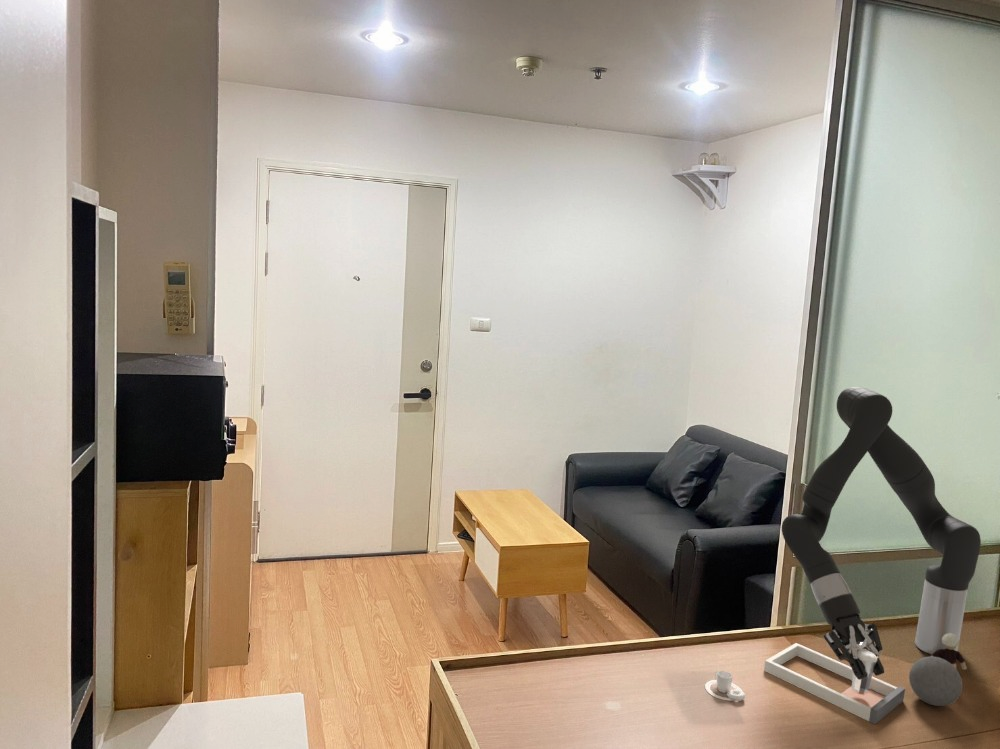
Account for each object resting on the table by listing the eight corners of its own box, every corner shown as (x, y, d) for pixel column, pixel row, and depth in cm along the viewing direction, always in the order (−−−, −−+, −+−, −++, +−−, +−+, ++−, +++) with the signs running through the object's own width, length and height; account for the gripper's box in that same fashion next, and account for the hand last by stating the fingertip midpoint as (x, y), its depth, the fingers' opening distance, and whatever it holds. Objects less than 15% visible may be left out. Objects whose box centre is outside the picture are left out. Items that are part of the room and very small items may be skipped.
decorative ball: (896, 689, 174) (902, 647, 173) (938, 689, 175) (945, 647, 174) (924, 715, 165) (931, 671, 163) (969, 716, 166) (976, 672, 164)
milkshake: (877, 699, 167) (885, 655, 165) (850, 694, 168) (858, 650, 166) (871, 687, 171) (879, 645, 169) (845, 683, 172) (853, 640, 170)
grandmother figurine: (955, 683, 179) (963, 631, 176) (964, 692, 175) (973, 639, 173) (921, 680, 179) (929, 628, 177) (929, 690, 175) (938, 637, 173)
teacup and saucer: (749, 705, 165) (752, 687, 165) (712, 704, 165) (714, 686, 164) (734, 682, 174) (736, 665, 173) (699, 681, 173) (701, 664, 173)
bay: (794, 652, 188) (796, 640, 188) (903, 701, 170) (905, 688, 169) (763, 670, 179) (765, 658, 178) (874, 724, 160) (876, 710, 160)
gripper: (821, 596, 170) (859, 677, 161) (869, 588, 176) (908, 665, 167) (800, 608, 175) (835, 687, 167) (846, 600, 181) (883, 675, 173)
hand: (871, 675), depth 167 cm, fingers closed on milkshake, 4 cm apart
